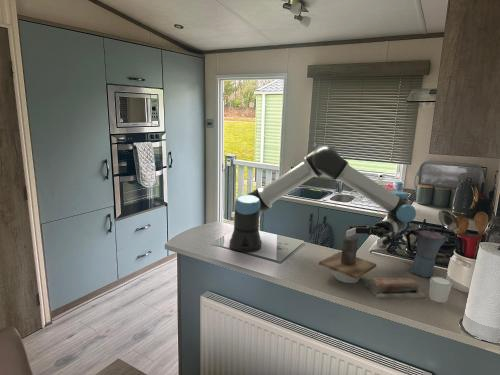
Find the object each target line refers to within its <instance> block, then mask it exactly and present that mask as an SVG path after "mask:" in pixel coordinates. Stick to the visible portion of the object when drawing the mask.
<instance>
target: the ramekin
mask: <svg viewBox="0 0 500 375" xmlns="http://www.w3.org/2000/svg"><path fill="white" fill-rule="evenodd" d="M333 275H334V278H335V279H336V280H337V281H340V282H342V283H346V284H355V283H358V282H359V280H360V278H361V277H360V278H358V279H355V278H353V277H350V276H347V275H345V274H342V273H340V272H337V271H334V270H333Z"/></svg>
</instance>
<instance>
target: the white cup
mask: <svg viewBox="0 0 500 375" xmlns="http://www.w3.org/2000/svg"><path fill="white" fill-rule="evenodd" d="M452 286H453V282H452V281H450V280H449V279H447V278H445V277H441V276H433V277H431V278H429V293H428V297H430V298H431V299H430V298H429V299H430V300H431V301H433V300H434V301H433V302H436V301H437V302H436V303H439V302H445V303H447V302H448V299H449V296H450V293H451V290H452ZM446 301H447V302H446Z"/></svg>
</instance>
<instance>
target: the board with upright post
mask: <svg viewBox="0 0 500 375" xmlns="http://www.w3.org/2000/svg"><path fill="white" fill-rule="evenodd" d="M358 241H359V238H356V237H353V236H348V237H346V236H345V237H344V238H343V240H342V250H341V251H338V252H336V253H334V254H332V255H331V256H328V257H326V258H325V259H322V260H320V261H319V262H318V265H319V266H322V267H325V268H327V269H329V270H333V272H334V271H337V272H340V273H342V274H345V275H347V276H350V277H353V278H355V279H358V278H361V277H363V276H364V275H366V274H367V273H369V272H370V271H372V270H373V269H375V268H377V263H375V262H372V261H369V260H367V259H362V258H360V257H357V251H358V250H357V249H358V245H359V244H358V243H359V242H358Z"/></svg>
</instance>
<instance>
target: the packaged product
mask: <svg viewBox="0 0 500 375" xmlns="http://www.w3.org/2000/svg"><path fill="white" fill-rule="evenodd" d="M365 286H366V287H367V288H368V289H369V290H370V292H372V293H373V295H374V296H375V297H376V298H377V299H418V298H419V299H423V297H424V298H425V297H426V294H425V293H423V292H422V291H421V290H420V284H419V283H418V282H417V281H416V280H414V279H412V278H408V277H406V278H405V277H404V278H403V277H395V278H394V277H371V278H370V280H369V282H367V283H365Z"/></svg>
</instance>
